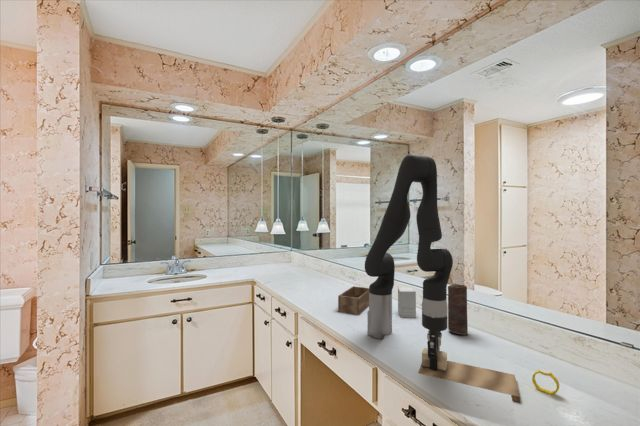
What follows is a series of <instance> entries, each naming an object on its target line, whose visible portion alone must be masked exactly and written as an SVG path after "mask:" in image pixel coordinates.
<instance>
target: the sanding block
mask: <svg viewBox="0 0 640 426" xmlns="http://www.w3.org/2000/svg"><path fill="white" fill-rule="evenodd" d="M431 354H434V353H431ZM447 361H448V352H447V351H443V350H442V351H441V350H440V351H438V359H437V371H441V372H446V369H447ZM421 363H422V367H424V368H428V369H430V358H428V347H423V348H422V351H421Z"/></svg>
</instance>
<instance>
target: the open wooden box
mask: <svg viewBox="0 0 640 426" xmlns="http://www.w3.org/2000/svg"><path fill="white" fill-rule="evenodd" d="M337 298H338V299H337V301H338V303H337V310H338V313H342V314H350V315H355V316H360V315H361V314H362V313H363V312H365V311H366V310H367V309H368V308H369V287H364V286H363V287H361V286H354V285H353V286H351V287H350V288H348V289H347V290H345V291H344V292H342V293H340V294H339V295H338V296H337Z"/></svg>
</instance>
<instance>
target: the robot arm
mask: <svg viewBox="0 0 640 426" xmlns="http://www.w3.org/2000/svg"><path fill="white" fill-rule="evenodd" d="M400 162H401V163H400V165H399V168H398V171H397V175H396V179H395V183H394V185H393V190H392V194H391V196H390V198H389V202H388V205H387V207H386V209H385V212H384V215H383V218H382V221H381V223H380V227H379V228H378V231H377V234H376V236H375V238H374V241H373V243H372V245H371V247H370V248H369V251H368V253H367V255H366V257H365V261H364V271H365V273H366V275H367V276H369V277H372V278H376V280H375V281H373V282H372V283H371V284H369V287H368V288H369V307H368V311H367V336H370V337H372V338H375V339H382V340H383V339H384V338H385V337H386V336H390V335H391V334H393V289H394V285H395V272H396V271H395V270H396V269H395V267H396V266H395V265H396V264H395V260H394V257H393V256H392V255H391V254H390V253H388V251H389V249H390V248H391V247H392V246H393V245H394V244H395V243H397V242H398V240H399V239H400V238H401V237H403V235H404V234H405V231H406V229H407V227H408V225H409V222H410V220H411V208H410V204H409V199H408V196H409V191H410V189H411V186H412V184H413V183H420V185H421V188H422V197H421V201H420V204H419V205H418V208H417V211H416V216H415V217H416V218H415V219H416V226H417V233H418V242H417V243H418V245H417V253H416V264H417V266H418V267H419V269H420V270H421V271H423V272H425V273H427V272H430V273H431V272H432V273H433V272H434V274H433V275H432V276H431V277H427V278H425V279H424V280H423V282H422V300H421V301H422V302H421V325H422V327H423V328H424V329H427V330H428V333H427V335H426V339H427V342H426V344H427V348H428V358H430V369H431V370H434V371H437V359H438V351H441V348H440V347H441V346H442V336H443V333H442V332H443V331H446V330H447V329H448V283H449V279H450V277H451V273H452V269H453V263H454V259H453V256H452V253H451V252H450V251H449V250H448V249H446V248H432V247H431V245H432V243H436V242H439V241H440V240H442V237H443V234H442V228H441V221H440V216H439V209H438V208H439V207H438V170H437V164H436V160H435V159H434V158H433V157H431V156H428V155H420V154H413V153H412V154H411V153H409V154H406V155H405V156H404V157H403V159H402V161H400ZM431 353H434V354H431Z"/></svg>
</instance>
